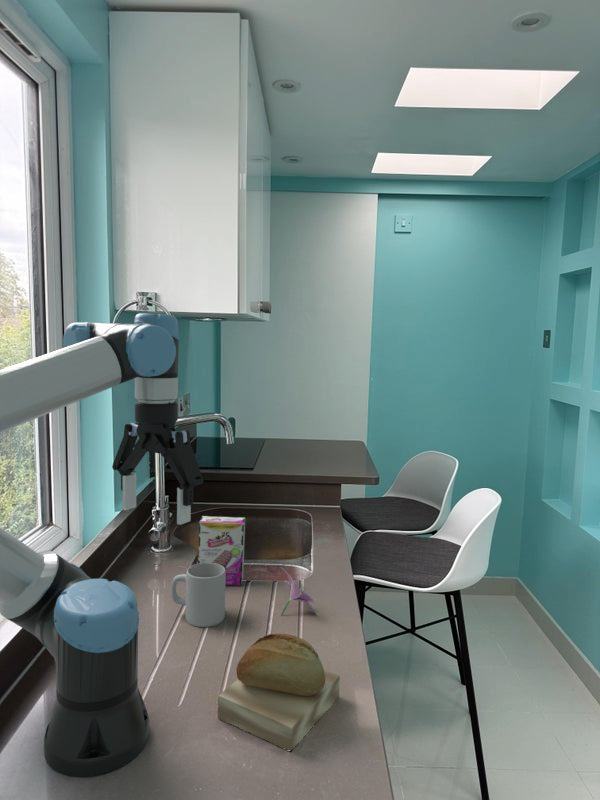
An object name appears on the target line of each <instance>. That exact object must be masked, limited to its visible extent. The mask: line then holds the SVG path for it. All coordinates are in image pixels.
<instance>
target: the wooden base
mask: <svg viewBox="0 0 600 800" xmlns="http://www.w3.org/2000/svg"><path fill="white" fill-rule="evenodd" d="M324 674H325V684H324V687H323V688H322V689H321V690H320V691H319V692H318V693H317V694H315V695H312V696H303V695H296V694H291V693H287V692H283V691H276V690H271V689H265V688H260V687H254V686H249V685H246V684H243V683H242V682H241V681H239V679H238V678H237V680H235V681H234V682H233V683H232V684H230V685H229V686H228V687H227V688H226V689H224V690H223V691H222V692H220V694H218V696H217V697H218V698H217V719H218V718H219V719H218V720H220V719H221V720H220V721H222V720H223V722H224V721H225V723H227V724H229V723H230V725H231V724H232V725H231V726H233V725H234V726H233V727H235V726H237V727H239V728H241V729H240V730H242V729H243V730H242V731H243V732H244V731H245V732H246V731H247V733H248V732H250V733H251V734H250V733H249V734H250V735H252V734H253V736H254V735H255V737H257V736H258V737H257V738H259V737H260V738H259V739H261V738H262V739H261V740H263V739H265V740H267V741H269V742H268V743H270V742H271V743H270V744H272V743H273V744H272V745H274V744H275V745H274V746H276V745H278V746H280V747H282V748H285V749H287V750H290V751H291V750H292V749H293V748H294V747H295V746H296V745H297V744H298V743H299V744H300V743H301V741H302V740H303V739H304V738H305V737H306V736H307V734H308V733H309V732H310V731H311V730H312V729H313V728H312V727H314V726H315V725H316V724H317V723H318V722H319V721H320V720H321V719H322V718H323V716H324V715H325V714H326V713H327V712H328V711H329V710H330V708H331V707H332V706H333V705H334V704H335V702H337V700H338V699H339V698H340V679H341V678H340V677H341V675H339V674H336V673H333V672H330V671H328V670H325V669H324ZM333 703H334V704H333ZM326 711H327V712H326ZM324 713H325V714H324ZM319 719H320V720H319ZM318 720H319V721H318ZM317 721H318V722H317ZM316 722H317V723H316ZM315 723H316V724H315ZM314 724H315V725H314ZM237 727H236V728H237ZM239 728H238V729H239ZM311 728H312V729H311ZM310 729H311V730H310ZM305 735H306V736H305ZM304 736H305V737H304ZM303 737H304V738H303ZM265 740H264V741H265ZM267 741H266V742H267ZM299 744H298V745H299ZM298 745H297V746H298ZM278 746H277V747H278ZM297 746H296V747H297ZM280 747H279V748H280ZM296 747H295V748H296ZM282 748H281V749H282ZM295 748H294V749H295ZM285 749H284V750H285ZM294 749H293V750H294ZM287 750H286V751H287ZM293 750H292V751H293Z"/></svg>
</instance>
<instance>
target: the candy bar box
mask: <svg viewBox="0 0 600 800" xmlns="http://www.w3.org/2000/svg"><path fill="white" fill-rule="evenodd" d="M245 535H246V517H239V516H238V517H235V516H212V515H210V516H209V515H202V516H201V518H200V520H199V523H198V553H197V555H198V563H197V564H199V563H216V564H219V565H222V566H223V567H224V568H225V587H226V586H228V587H231V586H232V587H233V586H234V587H242V585H243V580H244V574H245V573H244V570H245V569H244V568H245V567H244V565H245V542H246V541H245V539H246V538H245V537H246V536H245Z"/></svg>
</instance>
